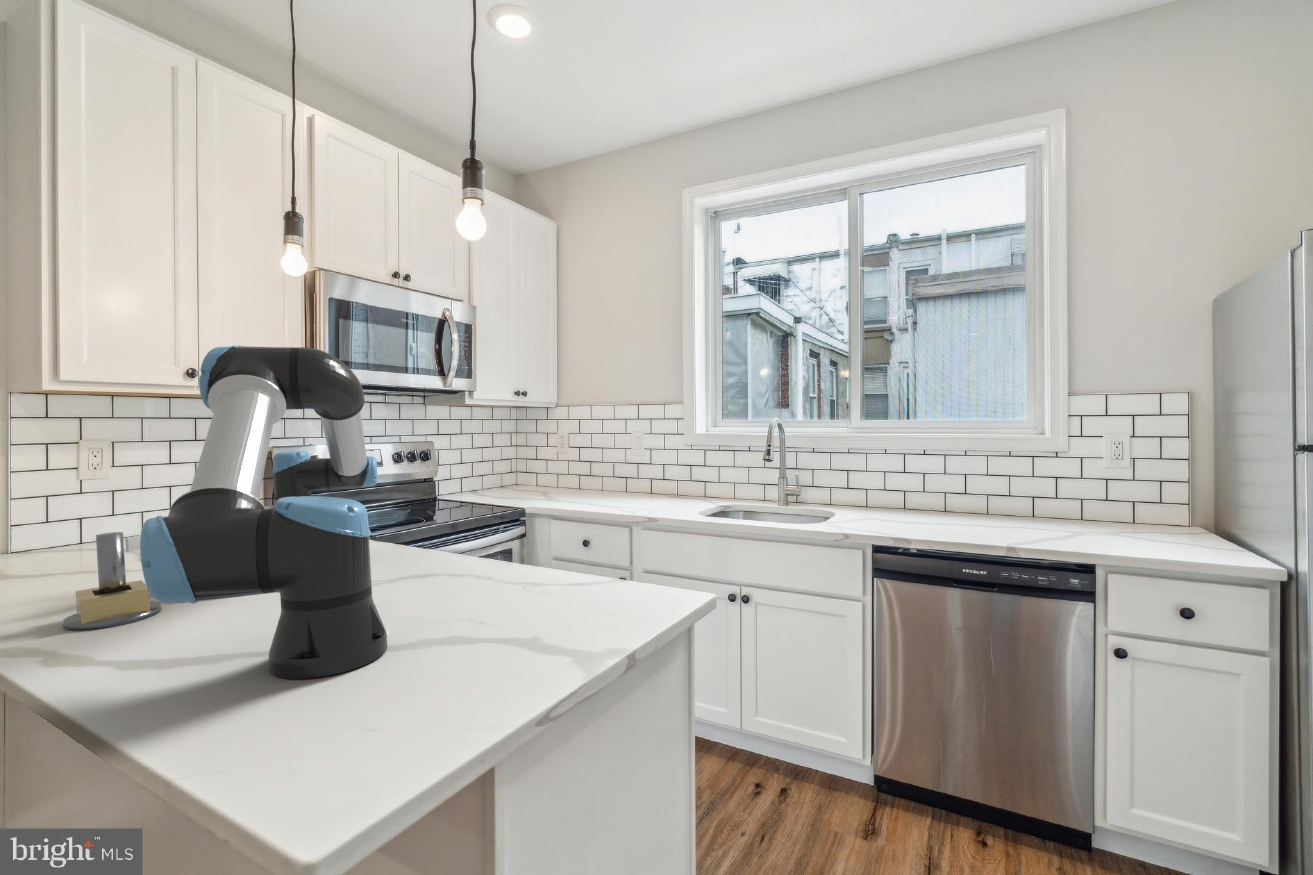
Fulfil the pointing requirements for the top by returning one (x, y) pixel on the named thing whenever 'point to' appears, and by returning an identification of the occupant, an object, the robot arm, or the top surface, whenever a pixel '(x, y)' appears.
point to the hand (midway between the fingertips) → (151, 546)
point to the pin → (111, 562)
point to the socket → (111, 608)
